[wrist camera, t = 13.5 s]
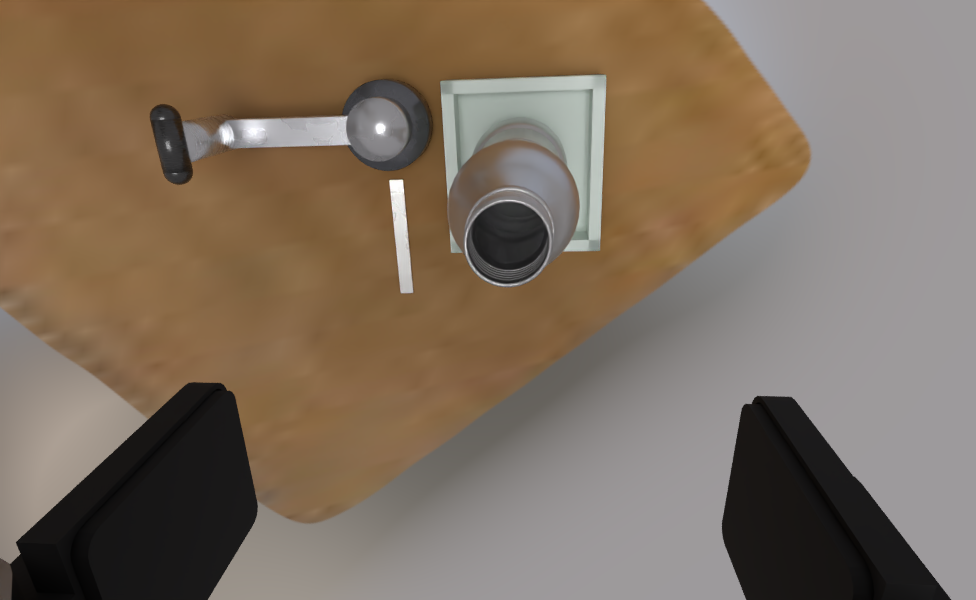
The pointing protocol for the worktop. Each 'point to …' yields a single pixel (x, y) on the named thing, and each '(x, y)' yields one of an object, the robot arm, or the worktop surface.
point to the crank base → (398, 158)
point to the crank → (279, 134)
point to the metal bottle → (514, 202)
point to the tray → (550, 100)
